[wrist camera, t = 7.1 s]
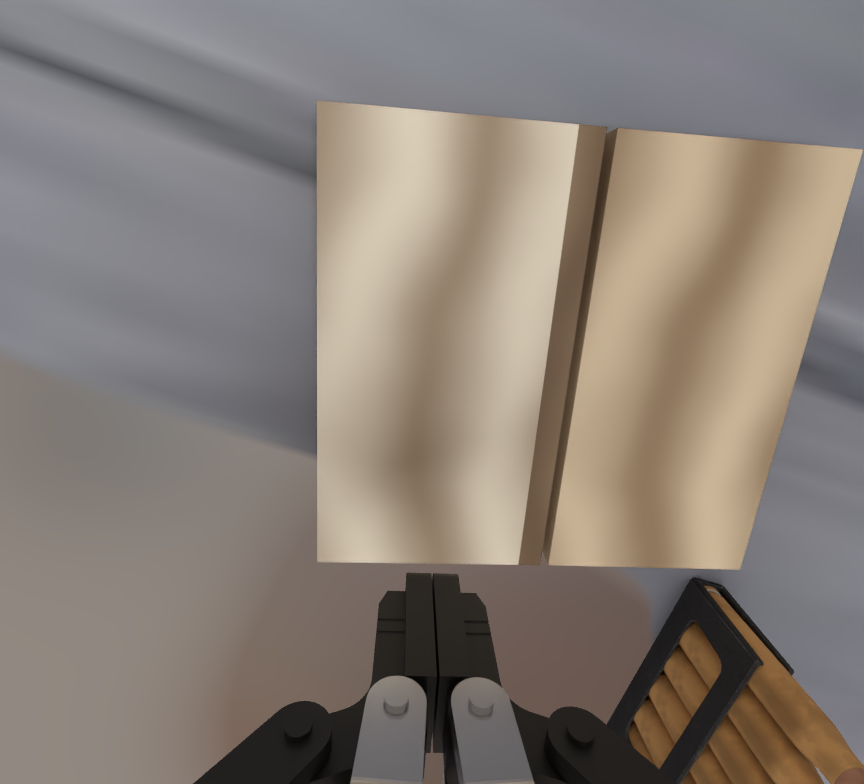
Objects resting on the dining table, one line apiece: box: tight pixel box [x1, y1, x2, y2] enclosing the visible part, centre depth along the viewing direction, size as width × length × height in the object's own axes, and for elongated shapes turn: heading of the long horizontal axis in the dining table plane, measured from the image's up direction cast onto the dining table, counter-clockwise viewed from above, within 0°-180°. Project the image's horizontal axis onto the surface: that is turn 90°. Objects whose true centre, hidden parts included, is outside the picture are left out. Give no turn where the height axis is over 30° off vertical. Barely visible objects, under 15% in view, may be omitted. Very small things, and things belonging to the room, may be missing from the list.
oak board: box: [542, 128, 863, 570], centre depth 21 cm, size 9×18×2 cm, turn 176°
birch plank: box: [317, 100, 607, 565], centre depth 20 cm, size 10×18×2 cm, turn 176°
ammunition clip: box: [607, 579, 864, 784], centre depth 21 cm, size 11×2×12 cm, turn 161°
